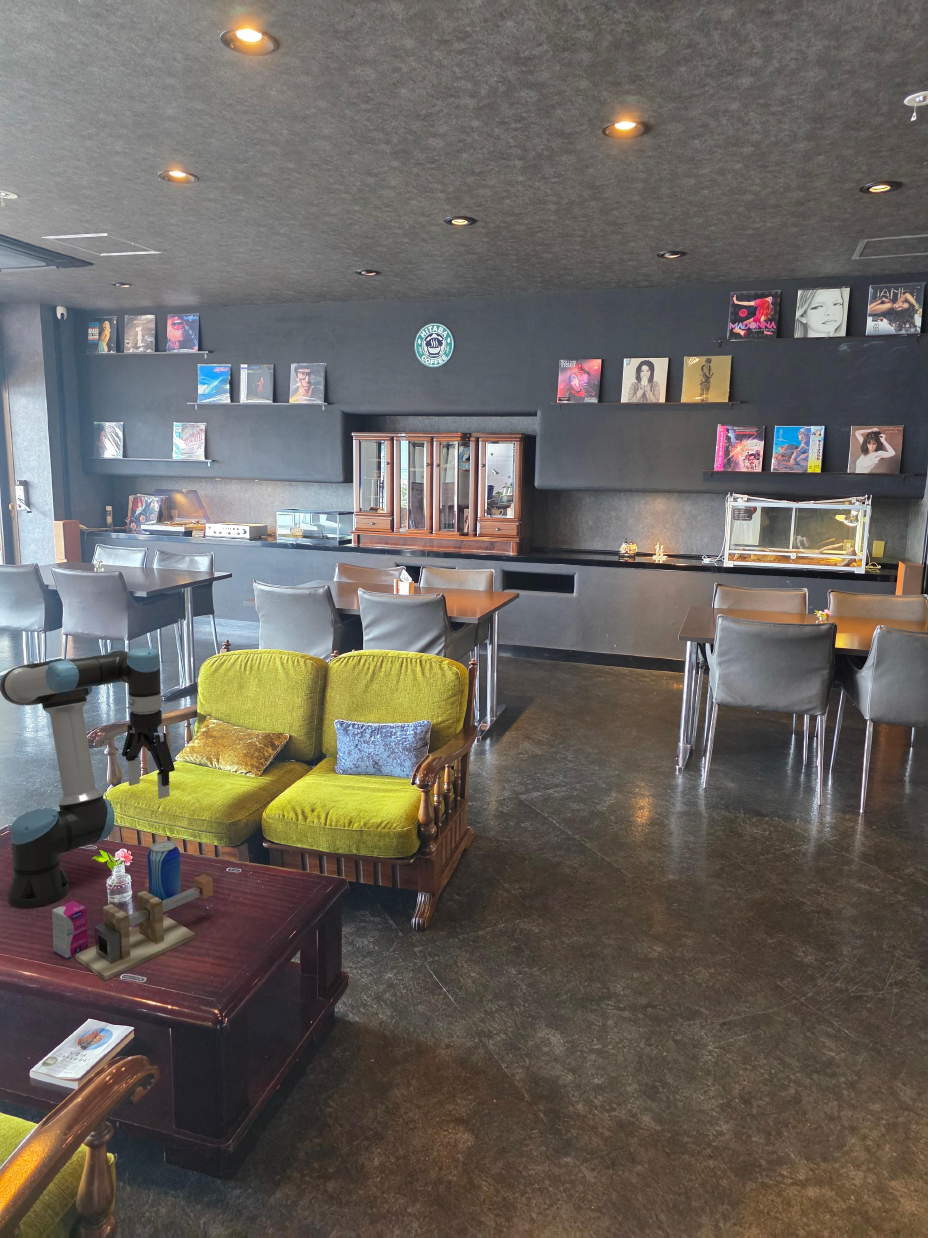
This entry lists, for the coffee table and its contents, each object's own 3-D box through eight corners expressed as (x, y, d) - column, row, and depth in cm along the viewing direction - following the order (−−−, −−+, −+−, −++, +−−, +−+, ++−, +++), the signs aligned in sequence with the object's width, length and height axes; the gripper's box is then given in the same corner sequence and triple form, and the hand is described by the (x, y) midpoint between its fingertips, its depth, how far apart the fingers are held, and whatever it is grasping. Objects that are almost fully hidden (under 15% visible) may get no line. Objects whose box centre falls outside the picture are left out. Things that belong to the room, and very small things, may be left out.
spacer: (96, 953, 198) (94, 926, 197) (105, 949, 200) (104, 922, 199) (111, 964, 194) (109, 937, 193) (120, 959, 196) (119, 932, 195)
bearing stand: (75, 959, 198) (72, 913, 196) (164, 919, 217) (162, 877, 215) (105, 981, 189) (103, 933, 188) (195, 938, 208) (194, 894, 206)
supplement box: (67, 960, 197) (64, 916, 195) (53, 953, 200) (50, 909, 198) (89, 949, 202) (87, 906, 200) (75, 942, 205) (72, 899, 203)
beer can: (171, 909, 222) (168, 854, 219) (143, 905, 224) (140, 850, 221) (187, 894, 230) (185, 841, 227) (160, 891, 232) (158, 837, 229)
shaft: (123, 924, 201) (122, 907, 201) (204, 890, 220) (203, 874, 219) (132, 930, 199) (131, 913, 198) (213, 894, 217) (212, 879, 216)
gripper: (105, 704, 210) (109, 783, 213) (160, 722, 195) (163, 807, 198) (132, 698, 216) (135, 775, 219) (187, 716, 201) (190, 798, 204)
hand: (148, 790), depth 209 cm, fingers open, 13 cm apart
